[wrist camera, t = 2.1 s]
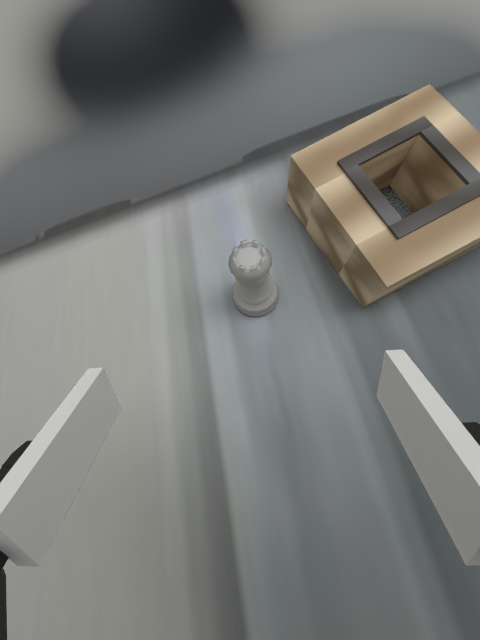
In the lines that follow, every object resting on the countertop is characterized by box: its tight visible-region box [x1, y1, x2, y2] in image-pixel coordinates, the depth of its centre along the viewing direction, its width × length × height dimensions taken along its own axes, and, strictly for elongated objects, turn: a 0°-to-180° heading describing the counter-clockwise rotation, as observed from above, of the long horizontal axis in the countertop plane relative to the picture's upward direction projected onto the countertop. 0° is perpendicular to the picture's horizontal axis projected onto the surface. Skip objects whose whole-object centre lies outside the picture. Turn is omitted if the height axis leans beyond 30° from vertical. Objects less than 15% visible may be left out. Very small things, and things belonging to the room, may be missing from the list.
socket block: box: [287, 84, 480, 308], centre depth 25 cm, size 14×14×6 cm
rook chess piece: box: [229, 240, 279, 316], centre depth 24 cm, size 4×4×8 cm
